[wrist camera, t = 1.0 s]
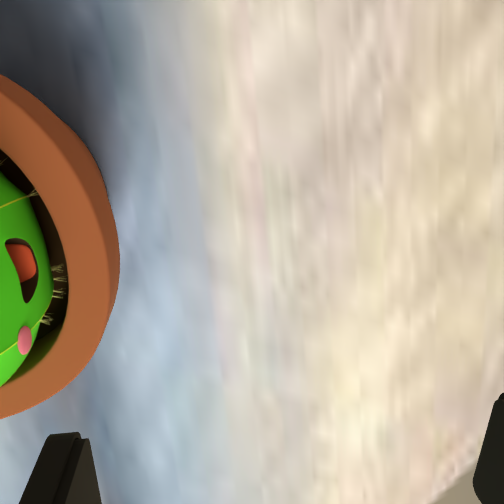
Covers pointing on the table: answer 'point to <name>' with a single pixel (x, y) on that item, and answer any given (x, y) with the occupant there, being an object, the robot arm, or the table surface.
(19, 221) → the potted cactus
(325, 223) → the table surface
